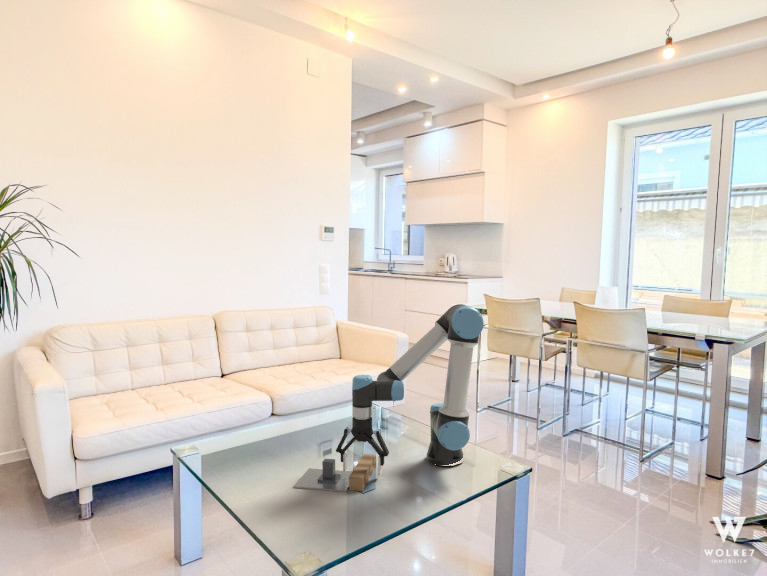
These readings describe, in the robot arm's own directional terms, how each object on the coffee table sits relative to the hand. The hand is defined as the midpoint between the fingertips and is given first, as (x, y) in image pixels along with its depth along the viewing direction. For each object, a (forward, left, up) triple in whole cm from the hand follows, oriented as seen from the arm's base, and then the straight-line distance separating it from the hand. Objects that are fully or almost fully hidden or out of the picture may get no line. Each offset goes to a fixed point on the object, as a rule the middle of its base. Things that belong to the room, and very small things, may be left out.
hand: (362, 472), depth 183 cm
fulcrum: (+12, +5, -2) cm, 13 cm away
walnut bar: (0, 0, -2) cm, 2 cm away
